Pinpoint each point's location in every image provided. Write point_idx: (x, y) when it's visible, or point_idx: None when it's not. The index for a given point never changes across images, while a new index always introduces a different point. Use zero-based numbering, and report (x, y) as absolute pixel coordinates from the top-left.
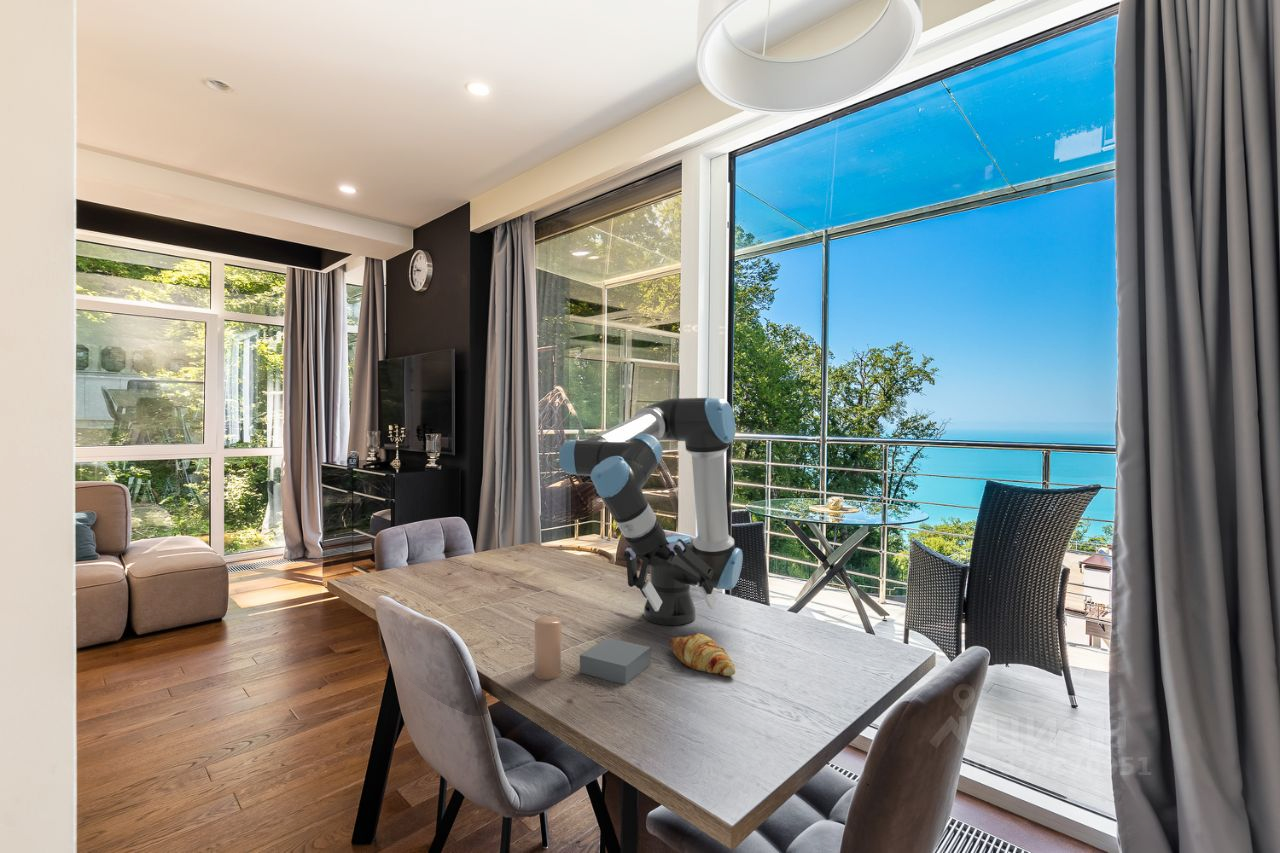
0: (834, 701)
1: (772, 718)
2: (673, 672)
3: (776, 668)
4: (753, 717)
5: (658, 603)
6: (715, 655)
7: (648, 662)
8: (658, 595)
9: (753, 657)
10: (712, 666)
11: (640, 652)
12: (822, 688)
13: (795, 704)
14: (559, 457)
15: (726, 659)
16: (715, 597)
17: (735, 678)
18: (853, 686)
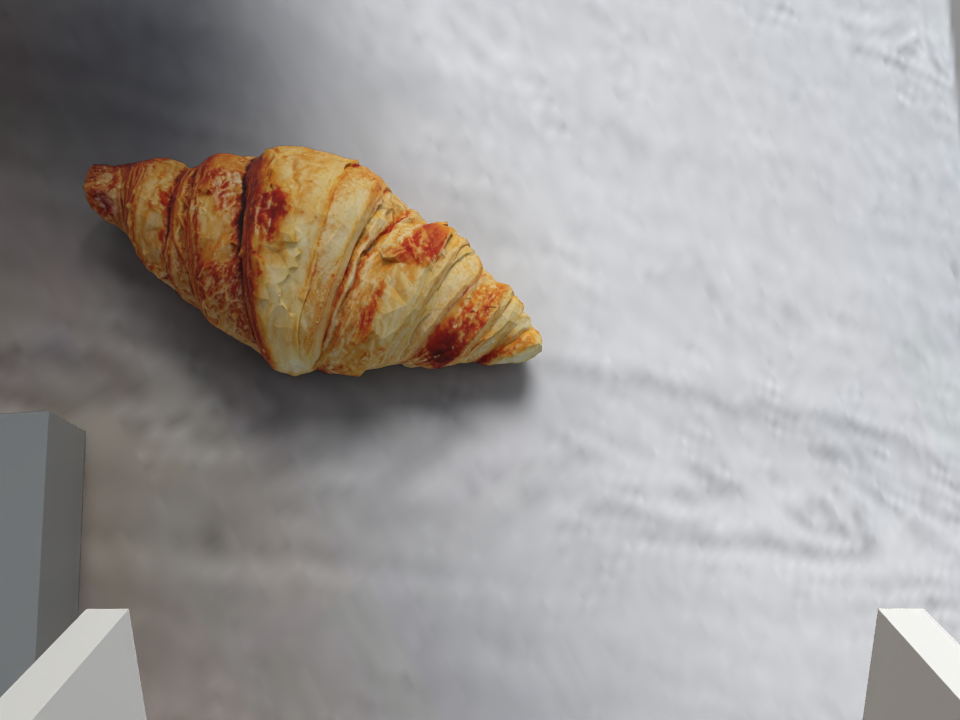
0: (892, 328)
1: (802, 591)
2: (250, 449)
3: (622, 173)
4: (747, 633)
5: (112, 713)
6: (442, 311)
7: (77, 453)
8: (57, 689)
9: (501, 117)
10: (438, 362)
11: (21, 520)
12: (821, 253)
13: (810, 429)
14: None
15: (499, 311)
16: (944, 636)
17: None
18: (886, 186)
